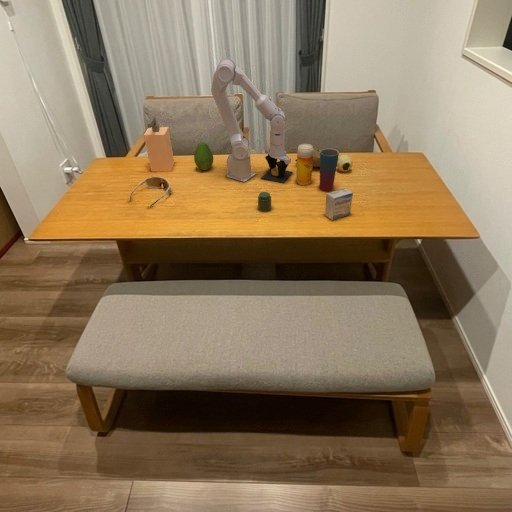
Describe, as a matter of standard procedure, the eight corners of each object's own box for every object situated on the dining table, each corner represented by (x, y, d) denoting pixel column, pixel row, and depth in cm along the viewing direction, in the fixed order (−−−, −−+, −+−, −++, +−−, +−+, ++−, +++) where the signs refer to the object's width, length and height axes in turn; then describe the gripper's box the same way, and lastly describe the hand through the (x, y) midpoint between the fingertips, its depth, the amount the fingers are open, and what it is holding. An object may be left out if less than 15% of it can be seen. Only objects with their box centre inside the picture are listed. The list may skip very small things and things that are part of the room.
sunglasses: (178, 190, 152) (175, 180, 148) (154, 213, 143) (150, 202, 140) (151, 183, 158) (147, 172, 154) (126, 204, 149) (122, 194, 145)
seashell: (330, 174, 162) (335, 151, 156) (296, 172, 161) (299, 149, 155) (326, 163, 171) (330, 141, 165) (293, 161, 170) (296, 139, 164)
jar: (255, 209, 140) (255, 195, 136) (262, 203, 143) (262, 189, 139) (266, 213, 137) (266, 199, 134) (273, 207, 140) (273, 193, 137)
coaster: (261, 179, 158) (261, 177, 158) (270, 169, 165) (270, 167, 165) (283, 183, 155) (283, 182, 154) (292, 173, 162) (292, 171, 161)
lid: (286, 173, 159) (286, 170, 158) (275, 177, 156) (275, 174, 156) (278, 169, 162) (278, 166, 161) (268, 172, 160) (268, 169, 159)
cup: (337, 186, 151) (341, 149, 142) (332, 194, 147) (336, 157, 137) (320, 183, 154) (323, 147, 145) (315, 190, 149) (317, 154, 140)
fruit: (206, 163, 171) (203, 137, 164) (218, 168, 167) (215, 141, 160) (192, 169, 167) (188, 142, 160) (203, 175, 163) (200, 147, 155)
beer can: (310, 186, 152) (313, 150, 143) (295, 185, 153) (296, 149, 144) (311, 179, 157) (314, 143, 147) (297, 178, 158) (298, 142, 149)
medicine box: (331, 220, 132) (334, 198, 127) (324, 214, 135) (326, 193, 130) (350, 214, 135) (353, 192, 130) (342, 209, 138) (345, 187, 133)
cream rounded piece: (335, 167, 165) (336, 152, 161) (351, 167, 164) (353, 152, 160) (336, 173, 160) (337, 158, 156) (352, 174, 159) (354, 158, 155)
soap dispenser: (155, 163, 173) (145, 113, 160) (174, 162, 173) (166, 113, 159) (149, 176, 163) (137, 124, 150) (169, 175, 163) (159, 123, 149)
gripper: (297, 145, 148) (295, 178, 156) (274, 135, 158) (274, 165, 166) (282, 150, 145) (282, 183, 153) (260, 139, 155) (261, 170, 163)
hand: (277, 174), depth 159 cm, fingers closed on lid, 5 cm apart
